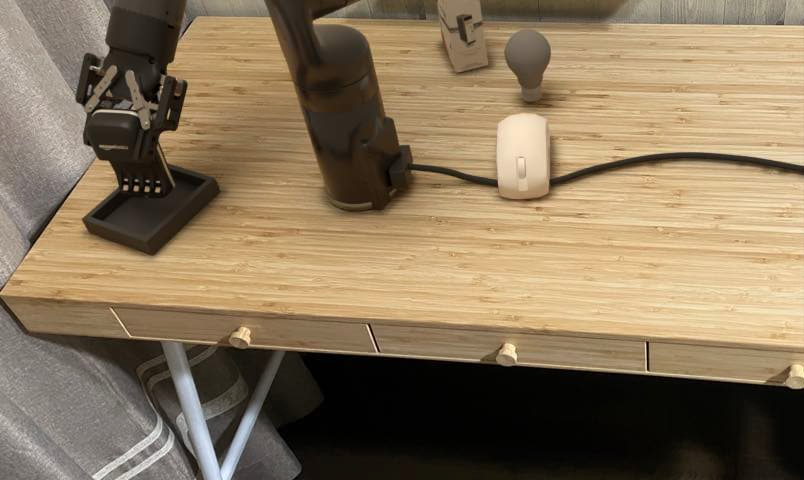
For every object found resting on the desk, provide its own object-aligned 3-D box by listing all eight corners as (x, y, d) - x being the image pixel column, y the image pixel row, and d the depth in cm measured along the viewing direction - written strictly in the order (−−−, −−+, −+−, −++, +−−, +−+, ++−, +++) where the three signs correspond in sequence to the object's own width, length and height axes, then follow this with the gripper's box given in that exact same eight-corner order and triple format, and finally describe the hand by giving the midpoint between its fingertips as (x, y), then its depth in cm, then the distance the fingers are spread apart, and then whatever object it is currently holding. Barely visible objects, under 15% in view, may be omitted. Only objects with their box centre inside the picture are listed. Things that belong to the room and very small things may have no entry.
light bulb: (505, 110, 134) (496, 44, 126) (516, 84, 137) (508, 18, 130) (548, 113, 132) (542, 47, 125) (559, 87, 136) (553, 21, 129)
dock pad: (221, 191, 127) (215, 177, 125) (152, 255, 120) (146, 242, 118) (158, 171, 131) (151, 157, 129) (88, 232, 123) (81, 218, 122)
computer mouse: (497, 202, 121) (491, 161, 116) (501, 136, 130) (495, 95, 125) (551, 199, 121) (547, 158, 116) (551, 133, 129) (547, 92, 125)
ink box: (441, 43, 146) (428, -33, 137) (473, 35, 147) (462, -41, 138) (456, 74, 140) (443, -3, 131) (489, 66, 141) (479, -11, 132)
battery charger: (114, 201, 123) (75, 125, 114) (128, 180, 125) (90, 105, 117) (167, 204, 121) (131, 128, 113) (180, 184, 124) (145, 107, 115)
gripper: (76, -7, 114) (45, 135, 116) (171, 17, 109) (138, 165, 111) (126, 11, 121) (97, 145, 123) (218, 34, 116) (186, 173, 118)
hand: (116, 154), depth 117 cm, fingers closed on battery charger, 7 cm apart
